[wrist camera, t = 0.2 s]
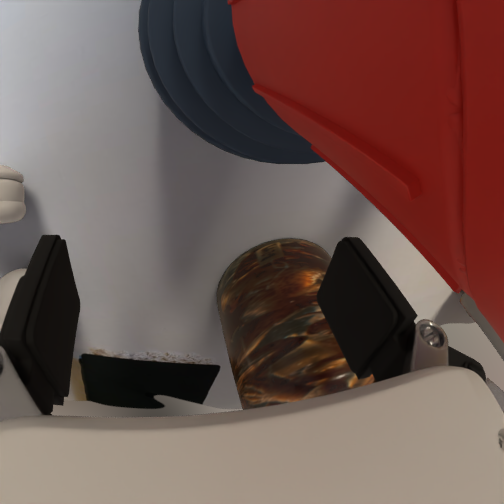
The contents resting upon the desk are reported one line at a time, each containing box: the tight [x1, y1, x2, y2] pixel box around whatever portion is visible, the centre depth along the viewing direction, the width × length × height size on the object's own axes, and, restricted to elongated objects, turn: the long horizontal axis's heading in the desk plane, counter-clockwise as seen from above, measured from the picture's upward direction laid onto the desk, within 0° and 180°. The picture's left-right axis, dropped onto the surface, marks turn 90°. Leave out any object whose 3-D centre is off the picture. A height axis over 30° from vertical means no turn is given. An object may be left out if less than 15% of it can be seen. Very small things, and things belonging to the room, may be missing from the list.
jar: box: [217, 239, 374, 410], centre depth 23 cm, size 12×12×15 cm
